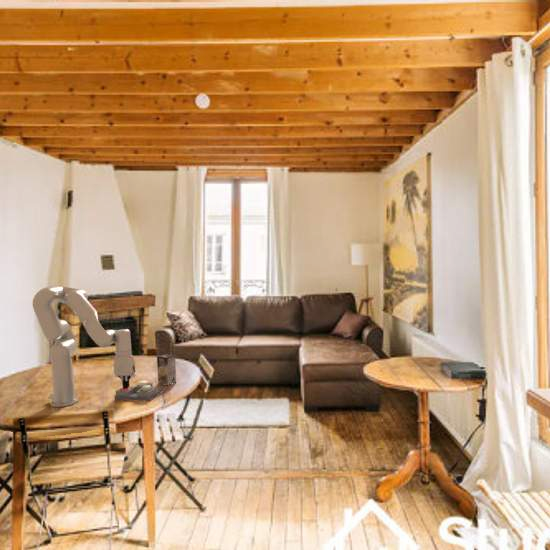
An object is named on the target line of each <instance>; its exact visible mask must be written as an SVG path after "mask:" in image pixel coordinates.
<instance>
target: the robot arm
mask: <svg viewBox="0 0 550 550" xmlns="http://www.w3.org/2000/svg"><path fill="white" fill-rule="evenodd" d="M88 298H89V297H88V294H87V292H86V291H85V290H83V289H80V288H75V287H74V288H73V287H68V286H62V285H53V286H45V287H43V288H41V289H40V290H38V292H36V293H35V295H34V296H33V299H32V309H33V311H34V314H35V316H36V318H37V320H38V323H39V327H40V328H41V331H42V333H43V336H44V337H45V339H46V340H48V341H53V342H55V343H54V344H53V345H52V346H51V347H50V350H49V351H48V352H49V354H48V355H49V357H48V358H49V360H50V365H51V374H52V389H53V390H52V391H53V393H50V394H49V396H48V400H52V401H51V402H50V406H51V407H52V408H53V407H54V408H60V407H61V408H62V407H68V406H71V405H74V404H77V402H78V401H79V397H78V396H76V395H75V393H76V391H75V389H76V388H75V377H74V376H75V375H74V365H73V360H72V356H74V354H75V353H76V352H77V350H78V343H77V340H76V336H75V335H74V332H73V330H72V327H71V326H70V324H69V323H68V322H67V321H66V320H64V319H59V316H58V315H57V312H56V310H55V309H54V307H53V304H55V303H62V304H66V305H67V306H68V307H69V308H70V309H71V310H72V312H74V314H75V315H76V317H77V318H78V319H79V320H80V321H81V322H82V326H83V327H84V329H85V331H86V333H87V334H88V335H89V337H90V338H91V340H93V342H94V343H95V344H96V345H97V346H99V347H100V348H107V347H109V346H111V345H112V344H115V351H114V352H113V353H114V354H115V356H114V360H113V374H114V376H115V377H116V378H119V379H120V381H121V384H122V387H123V389H124V388H125V389H126V388H128V387H129V386H130V380H131V378H135V376H136V364H135V359H134V356H133V354H132V339H131V331H130V330H129V329H128V328H123V329H106V330H105V328H103V326H102V325H101V323H100V321H99V318H98V311H97V310H96V309H95V308H94V306H93V305H92V304H91V303H90V301H88Z"/></svg>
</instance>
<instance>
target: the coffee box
mask: <svg viewBox="0 0 550 550" xmlns="http://www.w3.org/2000/svg"><path fill="white" fill-rule="evenodd" d="M156 365H157V366H156V367H157V382H158V384H159V383H162V384H161V385H163V384H166V385H165V386H167V385H169V384H172V383H174V384H176V383H177V370H176V356H175V355H173V354H166V353H164V354H160V355H157V356H156ZM175 382H176V383H175ZM172 385H173V384H172ZM169 386H170V385H169Z"/></svg>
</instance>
